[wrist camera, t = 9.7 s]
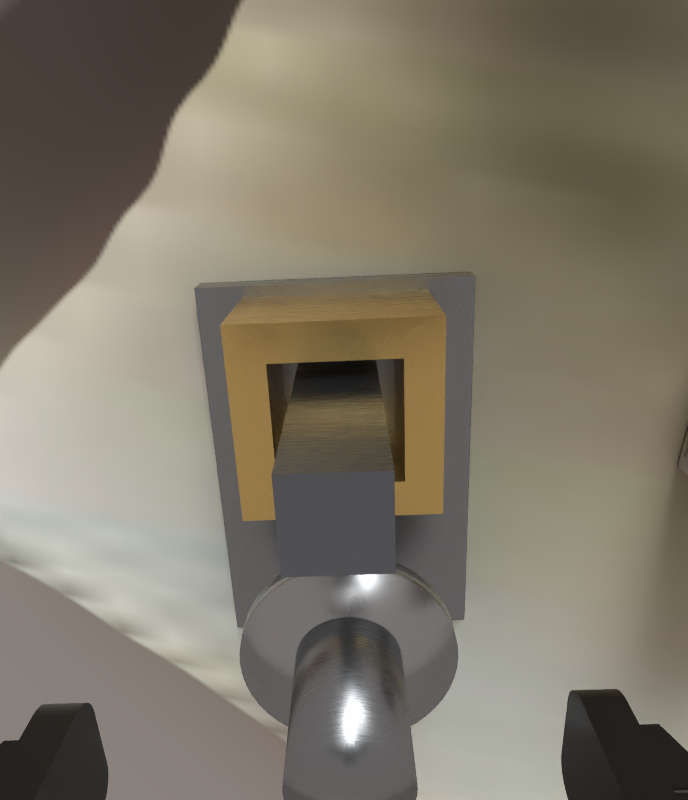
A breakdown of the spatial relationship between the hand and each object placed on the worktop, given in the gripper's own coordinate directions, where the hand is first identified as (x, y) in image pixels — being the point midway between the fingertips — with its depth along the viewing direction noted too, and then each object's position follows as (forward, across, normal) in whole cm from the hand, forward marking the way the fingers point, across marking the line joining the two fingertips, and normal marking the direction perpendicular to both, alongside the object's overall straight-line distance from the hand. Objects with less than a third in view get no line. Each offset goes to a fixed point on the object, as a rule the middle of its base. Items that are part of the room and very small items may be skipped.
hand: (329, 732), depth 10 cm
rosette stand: (+20, 0, +5) cm, 20 cm away
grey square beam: (+18, 0, 0) cm, 19 cm away
